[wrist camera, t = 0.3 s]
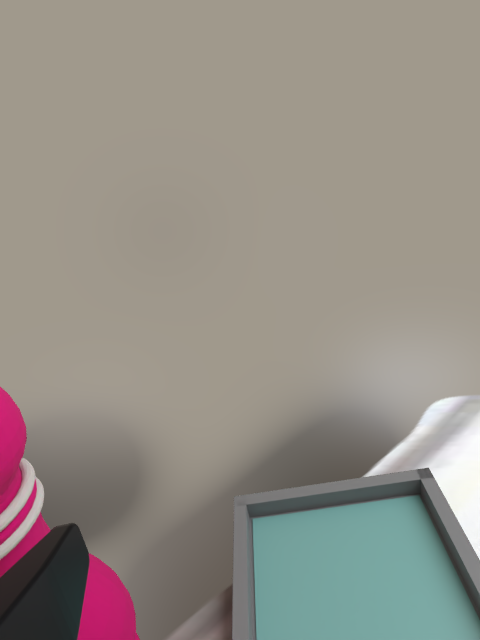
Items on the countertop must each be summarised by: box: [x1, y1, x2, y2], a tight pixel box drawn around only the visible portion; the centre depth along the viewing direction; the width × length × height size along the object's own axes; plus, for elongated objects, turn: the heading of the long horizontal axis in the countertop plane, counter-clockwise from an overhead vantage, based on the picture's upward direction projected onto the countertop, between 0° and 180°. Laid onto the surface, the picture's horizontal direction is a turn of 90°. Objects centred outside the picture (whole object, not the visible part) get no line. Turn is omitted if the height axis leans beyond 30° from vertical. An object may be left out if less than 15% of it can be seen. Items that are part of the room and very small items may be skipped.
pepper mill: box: [0, 387, 140, 640], centre depth 17 cm, size 7×7×20 cm
